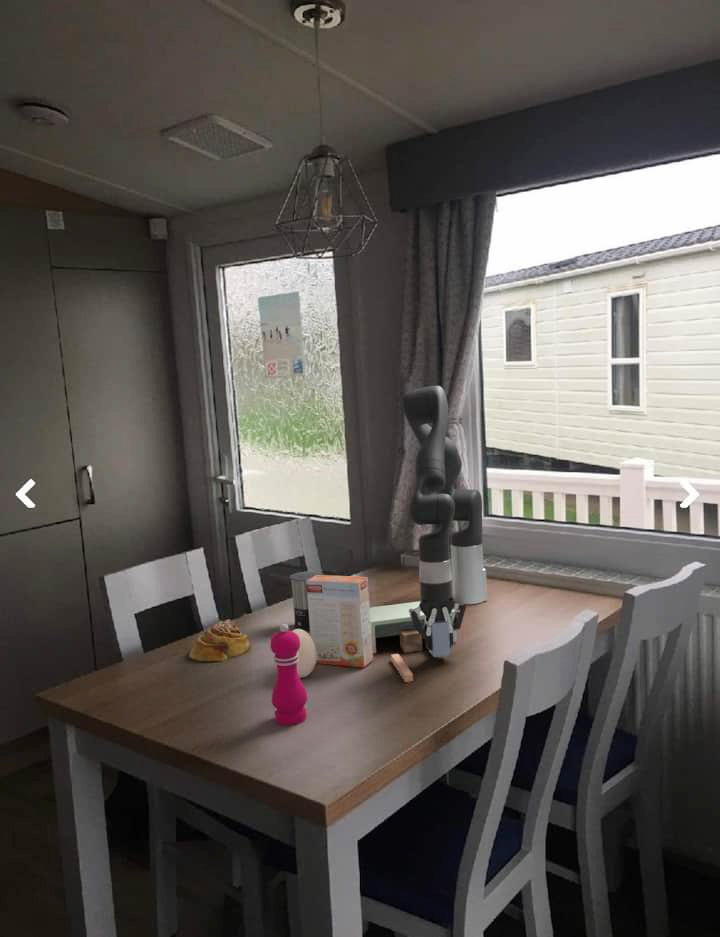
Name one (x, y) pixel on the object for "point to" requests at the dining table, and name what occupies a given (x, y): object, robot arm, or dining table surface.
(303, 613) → the milk frother
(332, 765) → the dining table surface
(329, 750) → the dining table surface
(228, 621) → the pastry
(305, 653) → the egg
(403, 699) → the dining table surface
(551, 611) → the dining table surface
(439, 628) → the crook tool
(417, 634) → the walnut cube
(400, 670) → the straight stick
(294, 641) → the pepper mill
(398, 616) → the cubby
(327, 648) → the cracker box
